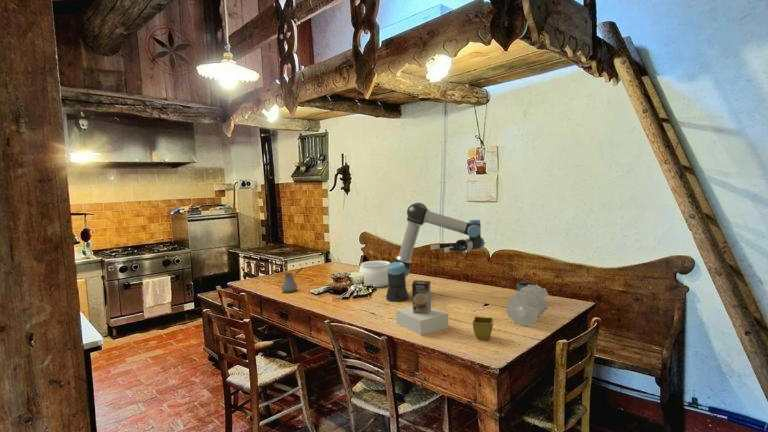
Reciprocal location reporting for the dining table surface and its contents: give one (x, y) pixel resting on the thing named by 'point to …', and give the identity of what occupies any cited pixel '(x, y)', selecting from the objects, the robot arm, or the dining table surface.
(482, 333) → the flower pot
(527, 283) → the drinking glass
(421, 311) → the coffee box
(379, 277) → the pot
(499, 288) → the dining table surface
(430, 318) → the painted box
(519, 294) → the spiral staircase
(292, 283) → the coffee pot
